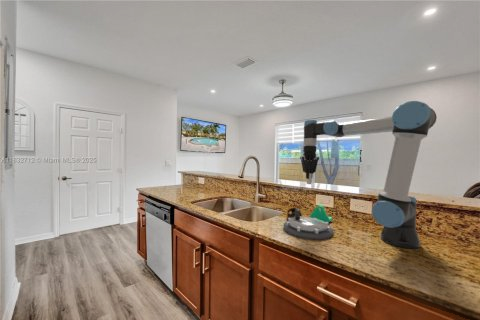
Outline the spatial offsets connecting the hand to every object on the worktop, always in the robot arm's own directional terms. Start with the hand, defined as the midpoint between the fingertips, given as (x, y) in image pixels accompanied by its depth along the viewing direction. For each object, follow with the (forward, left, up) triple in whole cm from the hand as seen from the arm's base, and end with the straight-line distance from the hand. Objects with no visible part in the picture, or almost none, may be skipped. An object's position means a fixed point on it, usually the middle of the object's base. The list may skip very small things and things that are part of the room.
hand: (308, 183), depth 125 cm
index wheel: (-10, +8, -22) cm, 25 cm away
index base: (-10, +8, -24) cm, 28 cm away
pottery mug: (+12, +2, -25) cm, 27 cm away
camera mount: (+3, -12, -25) cm, 28 cm away
